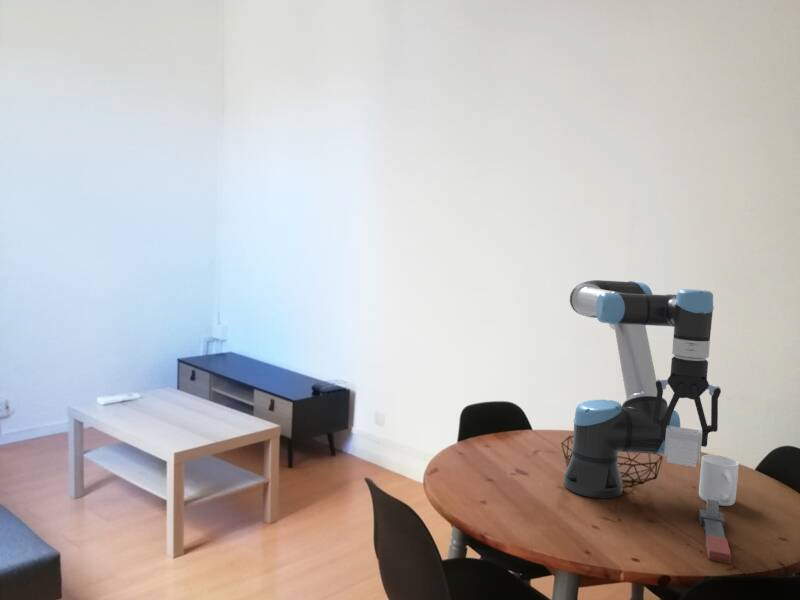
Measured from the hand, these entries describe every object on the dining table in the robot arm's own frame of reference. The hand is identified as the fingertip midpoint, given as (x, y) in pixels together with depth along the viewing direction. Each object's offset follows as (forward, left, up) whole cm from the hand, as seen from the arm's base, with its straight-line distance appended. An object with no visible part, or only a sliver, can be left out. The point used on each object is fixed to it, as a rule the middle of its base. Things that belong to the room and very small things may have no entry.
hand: (681, 456), depth 141 cm
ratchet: (+8, -2, -17) cm, 19 cm away
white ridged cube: (0, 0, -1) cm, 1 cm away
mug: (+11, +22, -17) cm, 30 cm away
